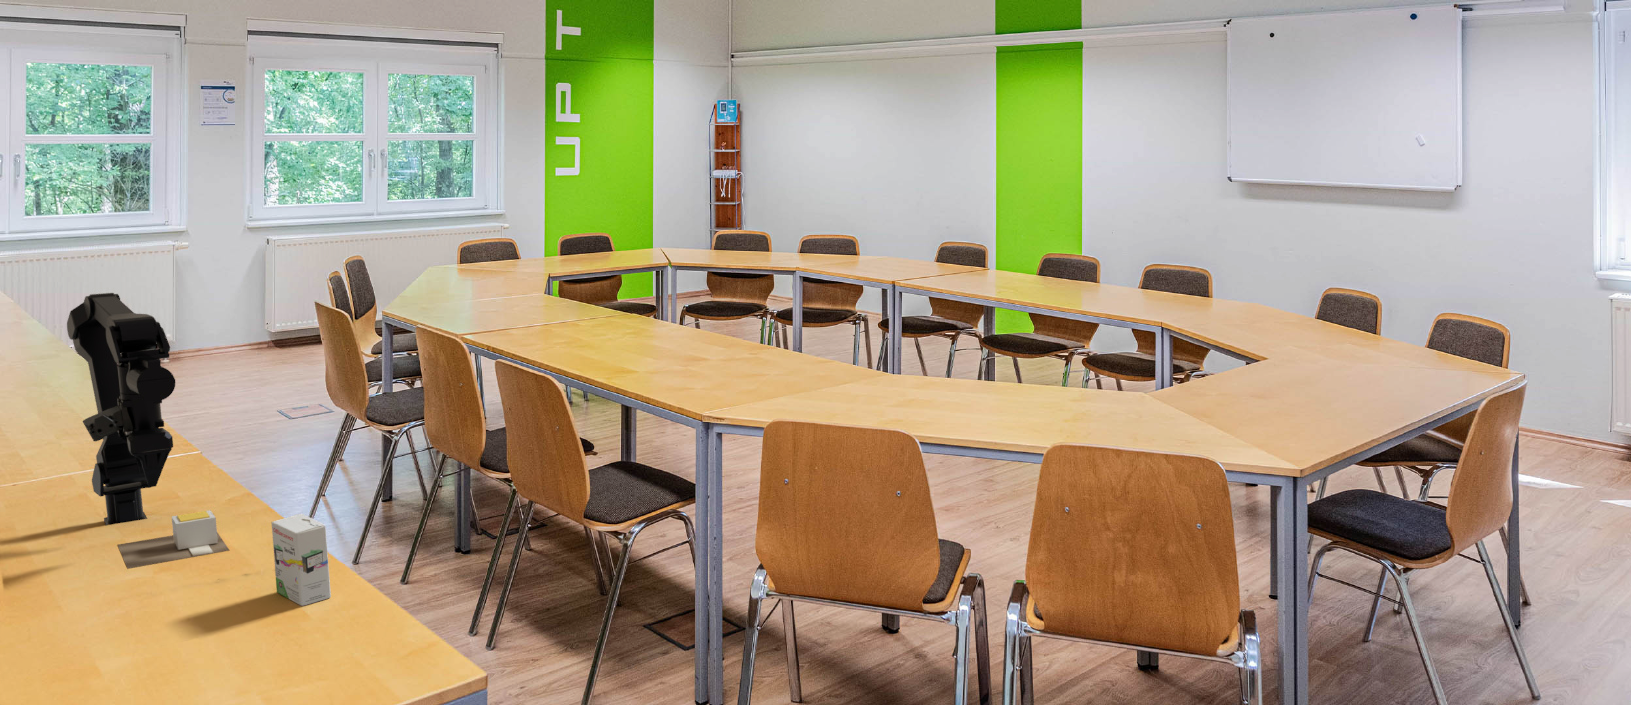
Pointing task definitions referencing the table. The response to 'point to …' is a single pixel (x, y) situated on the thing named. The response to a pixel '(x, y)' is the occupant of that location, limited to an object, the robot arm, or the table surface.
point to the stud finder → (194, 529)
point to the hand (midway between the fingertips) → (148, 479)
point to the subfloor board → (163, 551)
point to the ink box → (301, 559)
